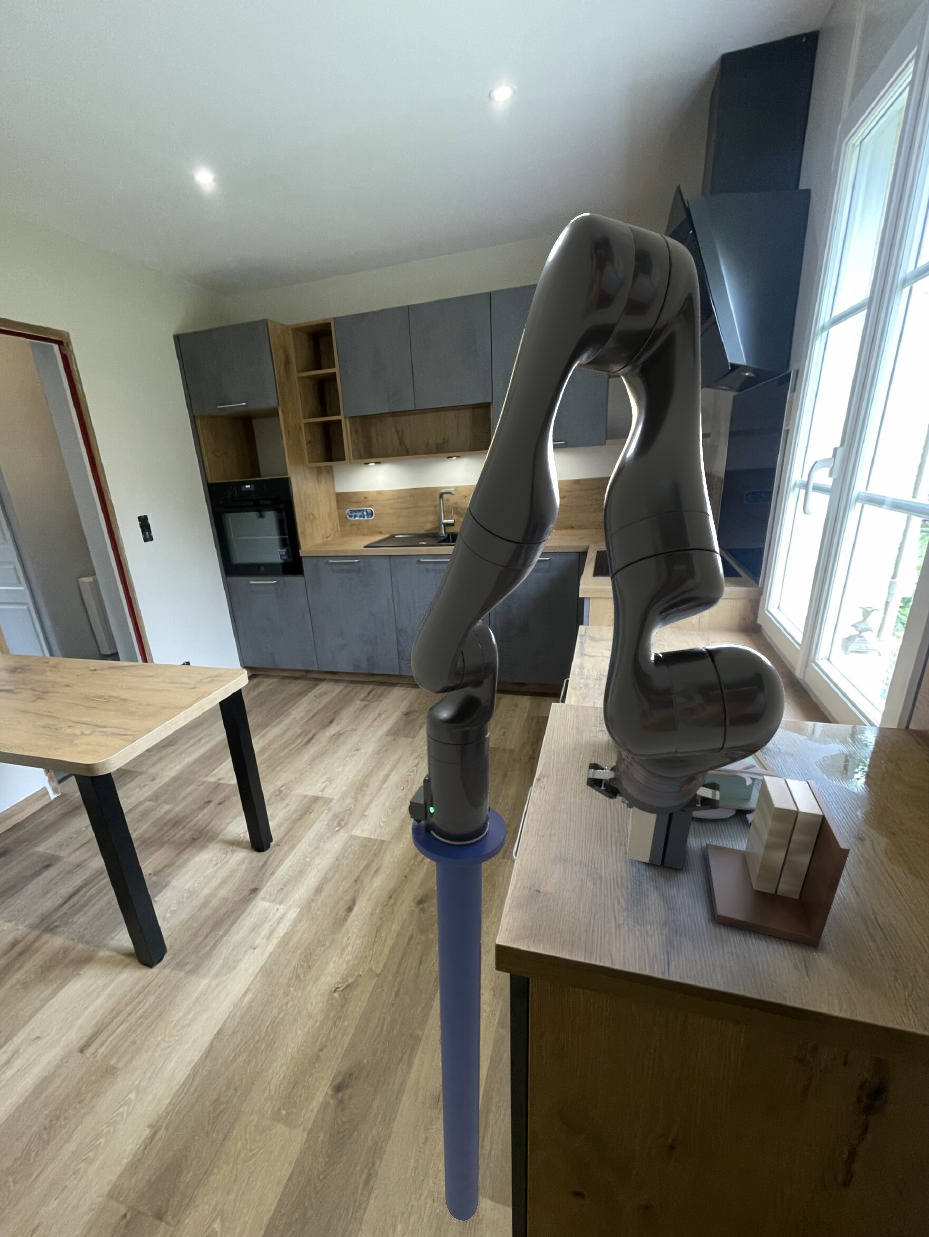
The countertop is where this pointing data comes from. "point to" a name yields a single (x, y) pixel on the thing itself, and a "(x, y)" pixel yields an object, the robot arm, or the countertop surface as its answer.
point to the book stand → (781, 865)
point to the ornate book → (737, 786)
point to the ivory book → (640, 834)
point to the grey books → (670, 838)
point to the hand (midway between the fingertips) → (643, 802)
